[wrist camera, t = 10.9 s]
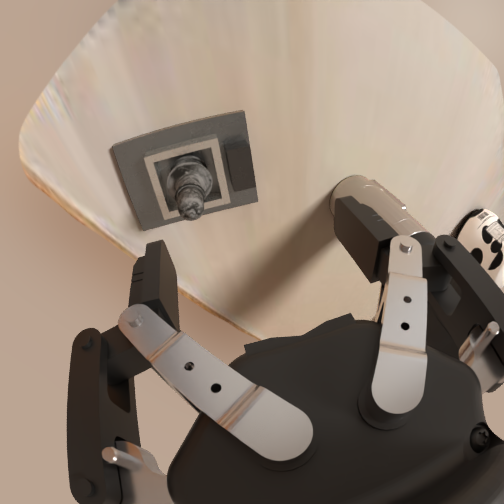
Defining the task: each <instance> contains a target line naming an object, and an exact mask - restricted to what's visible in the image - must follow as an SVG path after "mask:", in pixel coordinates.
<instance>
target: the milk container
mask: <svg viewBox="0 0 504 504" xmlns="http://www.w3.org/2000/svg"><path fill="white" fill-rule="evenodd" d="M457 240H458V241H459V242H460V243H461V244H462V245H463V246H464V247H465V248H466V249H467V250H468V251H469V253H470V254H471V255H472V256H473V257H474V258H475V259H476V260H477V261H478V263H479V264H480V265H481V266H482V267H483V268H484V270H485V271H486V272H487V273H488V274H489V276H490V277H491V278H492V279H493V280H494V282H495V283H496V284H497V285H498V287H499V288H500V289H501V288H502V287H503V286H504V225H503V224H502V222H501V221H500V219H499V218H498V217H497V216H496V215H495V214H494V213H492V212H491V211H489V210H487V209H480V210H477V211H476V212H474V213H473V214H472V215H470V217H469V218H468V219H467V220H466V221H465V223H464V224H463V226H462V228H461V229H460V231H459V234H458V236H457Z"/></svg>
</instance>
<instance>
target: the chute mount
mask: <svg viewBox="0 0 504 504" xmlns="http://www.w3.org/2000/svg"><path fill="white" fill-rule="evenodd" d="M112 148H113V151H114V154H115V157H116V160H117V163H118V165H119V168H120V171H121V174H122V177H123V180H124V182H125V185H126V188H127V190H128V193H129V196H130V198H131V201H132V204H133V206H134V209H135V211H136V214H137V216H138V219H139V221H140V224H141V226H142V228H143V231H145V230H149V229H152V228H156V227H160V226H163V225H167V224H171V223H174V222H178V221H182V220H185V219H184V218H182V217H181V216H180V214H179V212H178V205H177V204H176V202H175V200H174V199H173V198H172V197H171V196H170V194H169V192H168V190H167V178H168V176H169V173H170V170H171V167H172V165H173V164H174V162H175V161H176V160H178V159H179V158H181V157H184V156H195V157H198V158H200V159H201V160H203V161H204V163H205V164H206V166H207V169H208V171H209V172H210V174H211V177H212V183H213V184H212V189H211V191H210V193H209V194H208V195H207V197H206V200H205V202H204V212H203V214H202V215H205V214H209V213H213V212H217V211H221V210H225V209H229V208H233V207H237V206H241V205H246V204H250V203H254V202H258V197H257V190H256V183H255V176H254V169H253V163H252V156H251V150H250V144H249V137H248V131H247V124H246V118H245V112H244V111H243V110H240V111H235V112H229V113H224V114H220V115H215V116H210V117H206V118H202V119H197V120H193V121H189V122H185V123H181V124H178V125H174V126H170V127H167V128H163V129H160V130H156V131H153V132H149V133H146V134H143V135H140V136H137V137H134V138H131V139H128V140H125V141H122V142H119V143H116V144H114V145H113V146H112Z"/></svg>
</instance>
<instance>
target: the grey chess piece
mask: <svg viewBox="0 0 504 504" xmlns="http://www.w3.org/2000/svg"><path fill="white" fill-rule="evenodd" d="M212 184H213V183H212V177H211V174H210V172H209V171H208V169H207V166H206V164H205V163H204V161H203V160H201V159H200V158H198V157H195V156H184V157H181V158H179V159H178V160H176V161H175V162H174V164H173V165H172V167H171V170H170V173H169V176H168V178H167V190H168V192H169V194H170V196H171V197H172V198H173V199H174V200H175V202H176V204H177V205H178V212H179V214H180V216H181V217H182V218H184V219H185V220H190V221H192V220H196V219H198V218H200V217H201V216H202V214H203V212H204V202H205V200H206V197H207V195H208V194H209V193H210V191H211V189H212Z"/></svg>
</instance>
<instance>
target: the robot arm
mask: <svg viewBox="0 0 504 504" xmlns="http://www.w3.org/2000/svg"><path fill="white" fill-rule="evenodd" d="M330 209H331V212H332V214H333V215H334V230H335V234H336V236H337V238H338V239H339V241H340V242H341V243H342V245H343V246H344V247H345V249H346V250H347V251H348V253H349V254H350V255H351V257H352V258H353V260H354V261H355V262H356V264H357V265H358V266H359V268H360V269H361V271H362V272H363V273H364V275H365V276H366V278H367V279H368V280H369V282H370V283H374V282H376V281H380V282H381V287H380V293H379V299H378V305H377V311H376V317H375V321H369V320H354V318H353V316H352V314H351V313H349V314H346V315H343V316H341V317H338V318H335V319H332V320H329V321H326V322H324V323H323V324H321V325H319V326H318V327H316V328H314V329H313V330H311V331H309V332H308V333H306V334H304V335H301V336H291V337H276V338H269V339H265V340H261V341H258V342H254V343H250V344H246V345H244V347H245V351H246V353H245V354H243V355H241V356H239V357H238V358H236V359H235V360H234V361H233V362H231V364H229V365H228V366H227V365H226V364H225V363H223V362H222V361H221V360H220V359H218V358H217V357H215V356H214V355H213V354H211V353H210V352H209V351H207V350H206V349H205V348H203V347H202V346H201V345H200V344H198V343H197V342H196V341H194V340H193V339H192V338H191V337H190V336H188V335H187V334H186V333H184V332H183V331H180V328H179V327H180V326H179V312H178V311H179V310H178V291H177V275H176V270H175V267H174V264H173V262H172V260H171V257H170V255H169V252H168V250H167V247H166V245H165V242H164V241H163V240H159V241H155V242H152V243H148V244H147V245H146V253H145V256H143V257H139V258H138V260H137V261H136V263H135V265H134V267H133V273H132V275H133V276H132V280H131V281H132V283H131V288H130V297H129V305H128V308H127V309H125V310H124V311H123V313H122V314H121V315H120V317H119V320H118V325H116V326H115V327H113V328H111V329H109V330H107V331H105V332H103V333H100V332H99V331H98V330H97V329H95V328H88V329H85V330H83V331H81V332H80V333H79V334H78V335H77V336H76V338H75V340H74V342H73V346H72V353H71V362H70V372H69V384H68V401H67V455H68V471H69V482H70V489H71V493H72V495H73V497H74V498H75V500H77V502H78V503H79V504H504V441H503V440H502V439H500V438H499V437H498V436H497V435H495V434H494V433H493V432H492V431H491V430H490V428H489V427H488V425H487V423H486V420H485V416H484V411H483V404H482V394H483V393H485V392H488V393H489V392H493V391H495V390H496V389H497V388H498V387H500V386H501V385H502V384H503V383H504V293H503V292H502V291H501V289H500V288H499V287H498V285H497V284H496V283H495V282H494V280H493V279H492V278H491V277H490V276H489V274H488V273H487V272H486V271H485V270H484V268H483V267H482V266H481V265H480V264H479V263H478V261H477V260H476V259H475V258H474V257H473V256H472V255H471V254H470V253H469V251H468V250H467V249H466V248H465V247H464V246H463V245H462V244H461V243H460V242H459V241H458V240H457V239H456V238H454V237H452V236H449V235H440V236H438V237H437V238H435V237H434V236H433V235H432V234H430V233H429V232H428V231H427V230H426V229H425V228H424V227H423V226H422V225H421V224H420V223H419V222H418V221H417V220H415V219H414V218H413V217H412V216H411V215H410V214H409V213H408V212H407V211H406V206H405V204H403V203H402V202H401V201H400V200H399V199H397V198H396V197H395V196H394V195H393V194H391V193H390V192H389V191H388V190H387V189H385V188H384V187H383V186H382V185H380V184H379V183H378V182H376V181H375V180H369V179H367V178H366V177H363V176H358V175H356V176H351V177H348V178H346V179H345V180H343V181H342V182H341V183H339V184H338V185H337V187H336V188H335V189H334V191H333V193H332V196H331V199H330ZM149 368H152V369H153V370H154V371H155V372H156V373H157V374H158V375H159V376H160V377H161V378H162V379H163V380H164V381H165V382H166V383H167V384H168V385H169V386H170V387H171V388H172V389H173V390H174V391H175V392H176V393H177V394H178V395H180V396H181V398H183V399H184V400H185V401H186V402H187V403H188V404H189V405H190V406H191V407H192V408H193V409H194V410H195V411H197V412H198V413H199V415H198V417H197V419H196V420H195V422H194V424H193V426H192V428H191V429H190V431H189V433H188V435H187V436H186V438H185V440H184V442H183V443H182V445H181V447H180V449H179V450H178V452H177V454H176V455H175V457H174V459H173V461H172V462H171V464H170V466H169V469H168V473H167V475H165V474H164V473H162V472H161V470H160V469H159V467H158V465H157V462H156V460H155V458H154V456H153V455H152V454H151V453H150V452H149V451H147V450H145V449H143V448H141V444H140V437H139V430H138V421H137V410H136V399H135V387H134V376H135V375H137V374H139V373H141V372H143V371H145V370H147V369H149Z"/></svg>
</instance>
